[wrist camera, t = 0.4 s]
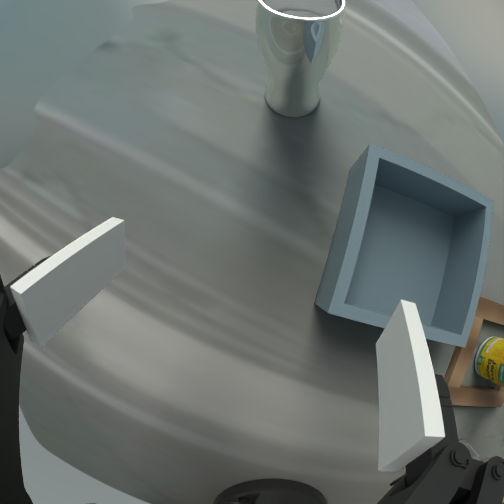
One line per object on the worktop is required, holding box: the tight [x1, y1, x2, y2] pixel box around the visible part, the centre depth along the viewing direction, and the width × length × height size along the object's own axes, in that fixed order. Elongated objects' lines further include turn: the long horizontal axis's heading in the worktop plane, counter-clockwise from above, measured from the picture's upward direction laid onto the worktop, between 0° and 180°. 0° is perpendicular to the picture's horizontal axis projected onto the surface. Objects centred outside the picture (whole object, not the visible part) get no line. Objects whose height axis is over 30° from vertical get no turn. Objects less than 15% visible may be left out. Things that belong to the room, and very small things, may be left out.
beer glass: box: [256, 0, 346, 117], centre depth 22 cm, size 7×7×15 cm
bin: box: [314, 143, 493, 348], centre depth 24 cm, size 14×14×7 cm
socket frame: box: [444, 297, 504, 407], centre depth 25 cm, size 13×13×1 cm
